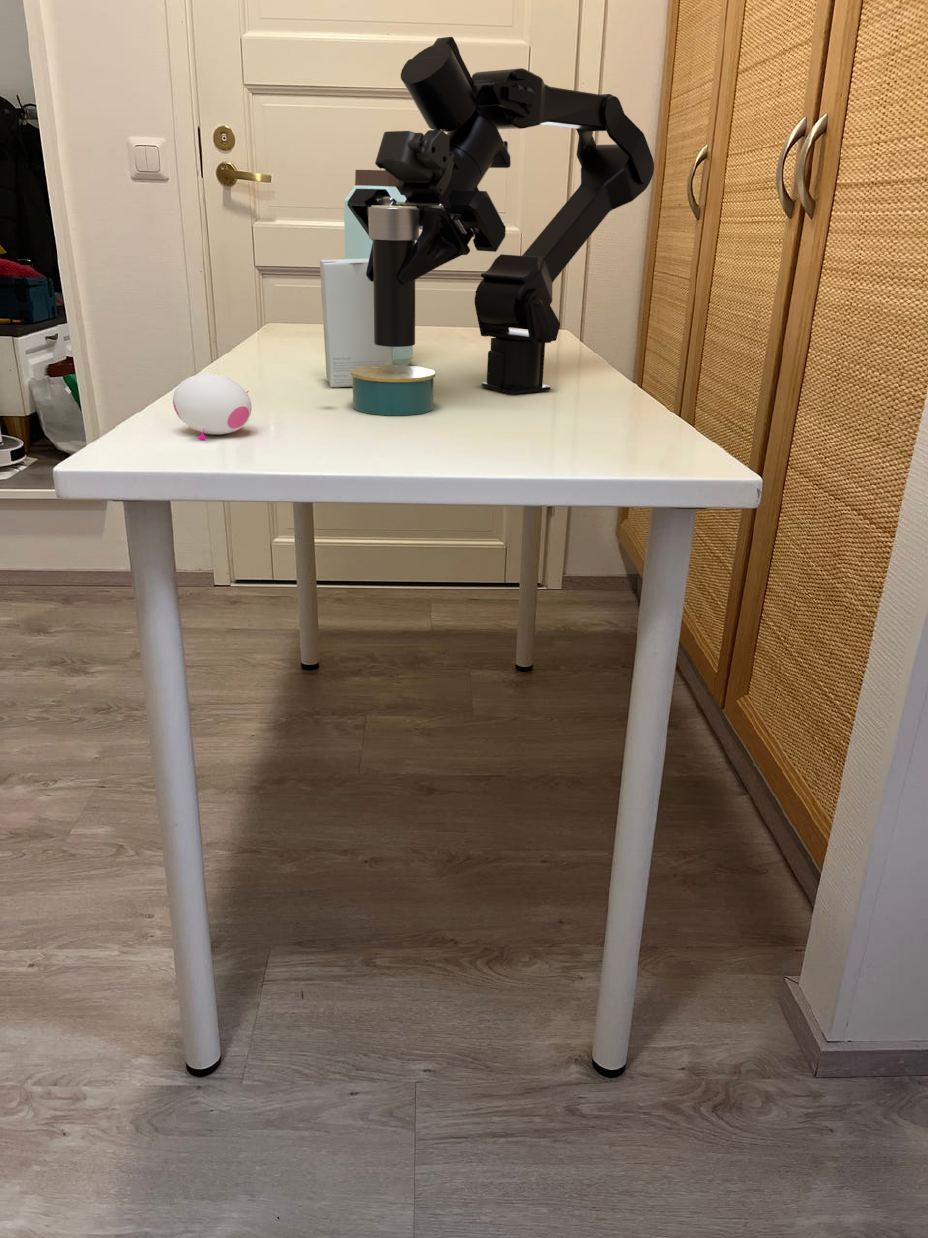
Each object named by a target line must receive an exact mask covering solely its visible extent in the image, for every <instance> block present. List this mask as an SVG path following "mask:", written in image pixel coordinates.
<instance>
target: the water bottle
mask: <svg viewBox="0 0 928 1238" xmlns="http://www.w3.org/2000/svg"><path fill="white" fill-rule="evenodd" d="M354 176H355V177H354V178H355V180H354V186H353V188H351V191H350V192H349V193H348V194H347V196H346V197H345V198H344V200H343V216H344V218H343V222H344V223H343V225H344V259H368V258H369V257H370V253H371V248H372V243H373V240H371V239H369V236H368V234H367V233H366V231H365V230H364V228H363V227H362V226H361V224H360V223H359V221H358V220H357V218H356V217H355V216H354V214H353V213H352V211H351V210H350V209H349V207H348V206H347V203H348V200H349V199H350V197H351V196H352V194H353V193H354V191H355V190H356V189H386V190H387V191H388V193H389V195H390V196H391V197H392V198H394V199H395V200H396V201H397V202H405V200H406V197H405V195H401V194H400V192H399V191H398V189H397V188H396V185H397V183H398V182H399V180H398V179H396V178H395V177H394V176H393V175H391V174H390V173H389V172H387V171H386V170H385V169H383V170H382V169H355V175H354ZM413 355H414V345H413V346H407V347H393V365H406V366H409V364H410V363H411V361H412V359H413V357H414V356H413Z"/></svg>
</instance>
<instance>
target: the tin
mask: <svg viewBox="0 0 928 1238" xmlns="http://www.w3.org/2000/svg"><path fill="white" fill-rule="evenodd" d="M351 376H353V387H352V408H353V409H354V410H355V411H357V412H360V413H364V414H369V415H376V416H389V417H390V416H393V417H394V416H395V417H396V416H398V417H399V416H400V417H402V416H416V415H421V414H426V413H429V412H431V411H432V410H433V409H434V378H435V377H436V371H435V370H433V369H431V368H428V367H422V366H417V365H415V366H414V365H408V366H406V365H371V366H362V367H357V368H354V369H352V370H351Z"/></svg>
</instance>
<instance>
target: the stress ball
mask: <svg viewBox="0 0 928 1238" xmlns="http://www.w3.org/2000/svg"><path fill="white" fill-rule="evenodd" d="M248 392H249V390H247V391H246V390H245V388H243V386H242V385H241V384H240V383H238V382H236V381H235V380H234V379H232V378H229V377H227V376H225V375H220V374H216V373H200V374H195V375H191V376H189V377H187V378H185V379H184V380H183V381H181V382H179V384H178V385H177V387H176V388H175V390H174V392H173V395H172V404H173V408H174V411H175V413H176V415H177V417H178V418H179V419H180V420H181V422H183V423H184V424H185V425H186V426H187V427H189V428H191V429H193V430H195V431H197V432H200V435H199V436H198V437H197V438H196V440H200V441H207V439H206V437H205V434H207V435H215V436H217V435H220V436H221V435H228V434H231V433H234V432H236V431H238V430H240V429H241V428H242V427H244V426H245V425H246V424H247V423H248V421H249V419H250V417H251V415H252V411H253V410H252V407H253V406H252V405H253V404H252V401H251V398H250V396H249V394H248Z"/></svg>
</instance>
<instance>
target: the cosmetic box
mask: <svg viewBox="0 0 928 1238" xmlns="http://www.w3.org/2000/svg"><path fill="white" fill-rule="evenodd" d="M368 262H369V258H368V259H345V258H340V259H339V258H338V259H337V258H336V259H319V273H320V275H319V276H320V293H321V305H322V307H321V308H322V323H323V340H324V342H323V343H324V355H325V357H324V358H325V375H326V376H325V377H326V380H327V382H328V385H329V387H330V388H353V376H351V370H352V369H354V368H357V367H362V366H371V365H393V347H386V346H379V345H376V344H374V290H373V282H372V281H370V280H369V279H368V277H367V276H366V271H367V266H368Z"/></svg>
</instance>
